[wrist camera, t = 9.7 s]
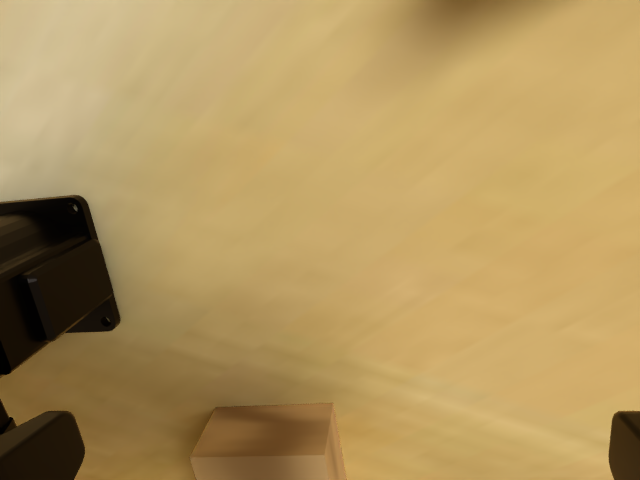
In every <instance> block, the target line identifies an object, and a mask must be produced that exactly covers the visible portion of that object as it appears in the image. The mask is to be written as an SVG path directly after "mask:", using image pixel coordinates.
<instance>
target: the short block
mask: <svg viewBox="0 0 640 480" xmlns="http://www.w3.org/2000/svg"><path fill="white" fill-rule="evenodd" d="M189 458H190V461H191V465H192V468H193V471H194V474H195V478H196V480H347V479H346V473H345V467H344V461H343V456H342V450H341V444H340V438H339V433H338V427H337V421H336V416H335V410H334V404H333V403H319V404H292V405H265V406H239V407H216V408H215V410H214V412H213V414H212V415H211V417H210V419H209V421H208V423H207V425H206V427H205V429H204V431H203V433H202V435H201V436H200V438H199V440H198V442H197V444H196V446H195V448H194V450H193V452H192V454H191V455H190V457H189Z"/></svg>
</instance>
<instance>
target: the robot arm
mask: <svg viewBox="0 0 640 480" xmlns="http://www.w3.org/2000/svg"><path fill="white" fill-rule="evenodd" d="M73 203H74V204H75V205H76V206H77V208H78V211H76V210H74V208H73ZM106 317H107V318H108V319H110V321H111V322H109V321H107V319H106ZM119 323H120V315H119V312H118V308H117V305H116V301H115V298H114V294H113V289H112V285H111V282H110V278H109V275H108V271H107V268H106V264H105V261H104V257H103V254H102V250H101V246H100V244H99V241H98V238H97V234H96V231H95V227H94V224H93V220H92V217H91V213H90V210H89V206H88V204H87V202H86V200H85V199H84V198H83V197H81V196H79V195H70V196H59V197H49V198H38V199H27V200H17V201H6V202H0V378H1V377H2V376H3V375H7V374H10V373H11V372H12V371H14V370H15V369H16V368H17V367H19V366H20V365H21V364H23V363H24V362H25V361H27V360H28V359H29V358H30V357H32V356H33V355H34V354H36V353H37V352H38V351H39V350H41V349H42V348H43V347H45V346H46V345H47V344H48V343H50V342H52V341H55V340H56V339H57V338H59V337H60V336H61V335H63V334H64V333H75V332H102V331H112V330H113V329H114V328H115V327H116V326H118V325H119ZM84 455H85V447H84V443H83V440H82V437H81V434H80V432H79V429H78V426H77V423H76V420H75V417H74V415H73V414H72V413H71V412H68V411H48V412H45V413H43V414H41V415H39V416H37V417H35V418H33V419H31V420H29V421H27V422H25V423H23V424H21V425H19V426H16V424H15V422H14V420H13V418H12V417H9V416H8V414H7V412H6V410H5V408H4V406H3V403H2V401H1V399H0V480H74V479H75V476H76V474H77V472H78V470H79V468H80V466H81V464H82V462H83V459H84ZM609 464H610V469H611V472H612V475H613V478H614V480H640V411H618V412H616V413H615V414H614V416H613V418H612V426H611V436H610V446H609Z"/></svg>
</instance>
